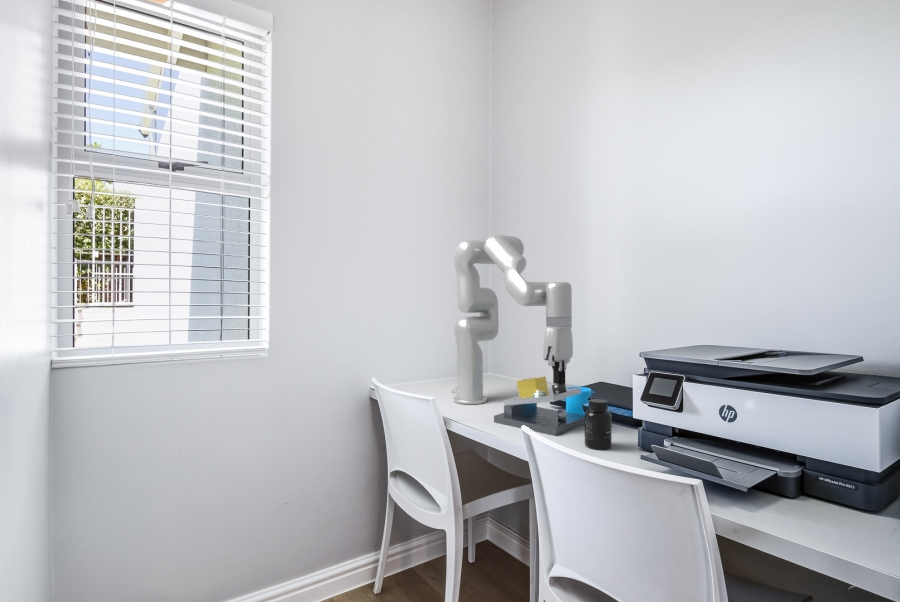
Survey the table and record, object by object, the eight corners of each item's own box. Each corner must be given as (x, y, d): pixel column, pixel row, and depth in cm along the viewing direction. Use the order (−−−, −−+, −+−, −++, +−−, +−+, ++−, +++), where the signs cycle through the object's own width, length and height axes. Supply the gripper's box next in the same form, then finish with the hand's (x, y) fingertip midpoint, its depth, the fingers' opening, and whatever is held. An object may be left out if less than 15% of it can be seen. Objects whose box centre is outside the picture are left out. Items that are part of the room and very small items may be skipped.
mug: (575, 417, 156) (575, 392, 156) (561, 411, 164) (561, 387, 164) (606, 414, 160) (606, 389, 160) (590, 408, 168) (590, 385, 168)
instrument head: (504, 405, 150) (500, 383, 151) (533, 397, 162) (529, 377, 162) (554, 401, 138) (549, 378, 139) (581, 393, 149) (577, 371, 150)
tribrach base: (493, 422, 151) (493, 406, 151) (528, 411, 165) (528, 396, 165) (555, 435, 136) (555, 418, 136) (587, 422, 150) (587, 406, 150)
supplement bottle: (613, 451, 123) (613, 404, 122) (586, 449, 124) (586, 403, 124) (609, 442, 129) (609, 398, 129) (583, 441, 130) (583, 397, 130)
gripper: (560, 321, 153) (561, 379, 154) (534, 323, 142) (534, 385, 143) (582, 322, 148) (582, 381, 148) (556, 324, 137) (557, 388, 138)
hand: (559, 383), depth 146 cm, fingers closed
